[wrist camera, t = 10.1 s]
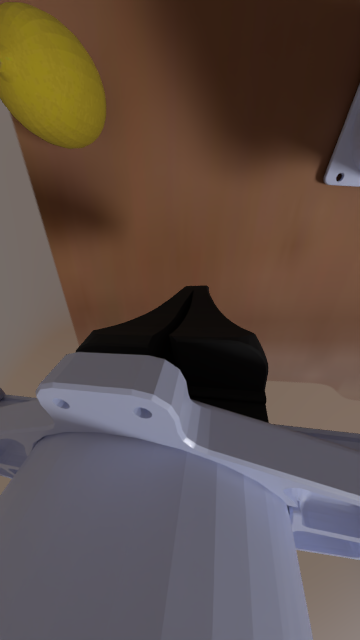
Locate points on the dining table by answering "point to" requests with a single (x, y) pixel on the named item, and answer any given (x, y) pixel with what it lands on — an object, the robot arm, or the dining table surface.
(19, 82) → the lemon
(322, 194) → the dining table surface
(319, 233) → the dining table surface
